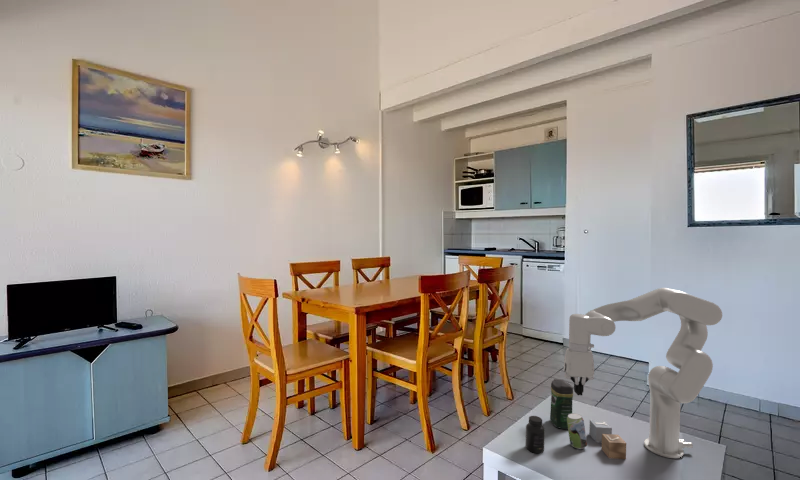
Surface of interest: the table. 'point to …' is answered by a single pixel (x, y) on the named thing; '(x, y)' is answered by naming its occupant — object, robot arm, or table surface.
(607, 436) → the walnut digit block
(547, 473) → the table surface
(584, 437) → the beverage can
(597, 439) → the slate digit block
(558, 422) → the coffee jar
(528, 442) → the supplement bottle
